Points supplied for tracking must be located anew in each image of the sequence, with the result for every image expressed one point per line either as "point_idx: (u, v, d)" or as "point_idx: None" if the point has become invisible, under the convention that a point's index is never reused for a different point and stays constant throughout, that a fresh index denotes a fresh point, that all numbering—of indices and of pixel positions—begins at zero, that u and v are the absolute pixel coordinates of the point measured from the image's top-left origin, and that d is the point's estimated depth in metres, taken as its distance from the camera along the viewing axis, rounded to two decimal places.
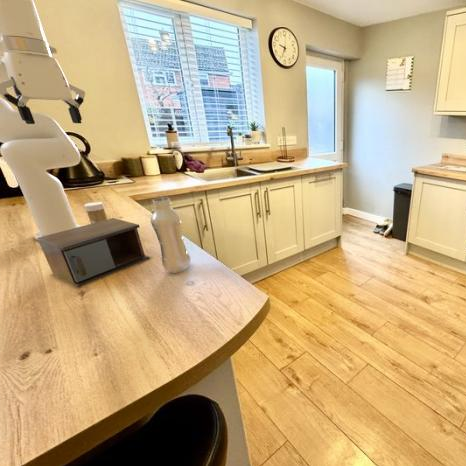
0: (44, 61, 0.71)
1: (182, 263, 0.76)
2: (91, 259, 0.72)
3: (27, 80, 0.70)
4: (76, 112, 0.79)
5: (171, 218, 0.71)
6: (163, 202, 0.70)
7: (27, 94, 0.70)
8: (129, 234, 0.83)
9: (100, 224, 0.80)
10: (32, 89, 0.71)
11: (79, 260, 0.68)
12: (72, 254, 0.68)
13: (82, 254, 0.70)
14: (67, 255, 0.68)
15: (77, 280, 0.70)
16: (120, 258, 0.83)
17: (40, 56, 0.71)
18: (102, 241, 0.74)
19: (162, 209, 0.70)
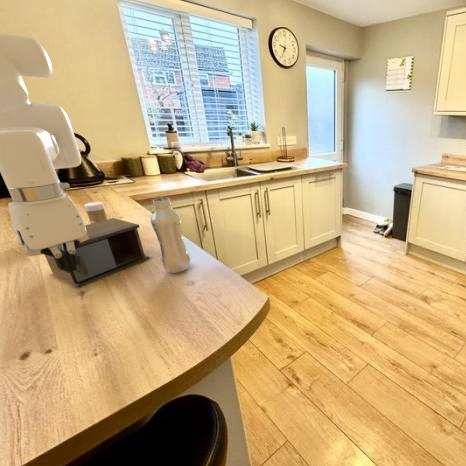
0: (56, 205, 0.61)
1: (182, 263, 0.76)
2: (92, 258, 0.72)
3: (36, 232, 0.59)
4: (71, 260, 0.65)
5: (171, 218, 0.71)
6: (163, 202, 0.70)
7: (36, 247, 0.59)
8: (129, 234, 0.83)
9: (100, 224, 0.80)
10: (42, 240, 0.60)
11: (81, 259, 0.68)
12: None
13: (84, 254, 0.71)
14: None
15: (79, 279, 0.71)
16: (120, 258, 0.83)
17: (51, 201, 0.60)
18: (103, 241, 0.74)
19: (162, 209, 0.70)
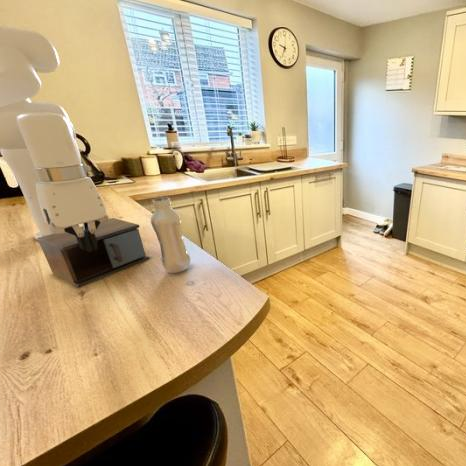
0: (79, 185, 0.64)
1: (182, 263, 0.76)
2: (126, 247, 0.79)
3: (61, 210, 0.62)
4: (92, 239, 0.69)
5: (171, 218, 0.71)
6: (163, 202, 0.70)
7: (61, 225, 0.63)
8: None
9: (100, 224, 0.80)
10: (66, 218, 0.63)
11: (117, 247, 0.74)
12: (110, 241, 0.75)
13: (118, 242, 0.77)
14: (106, 243, 0.74)
15: (114, 266, 0.77)
16: None
17: (75, 181, 0.63)
18: (135, 231, 0.80)
19: (162, 209, 0.70)
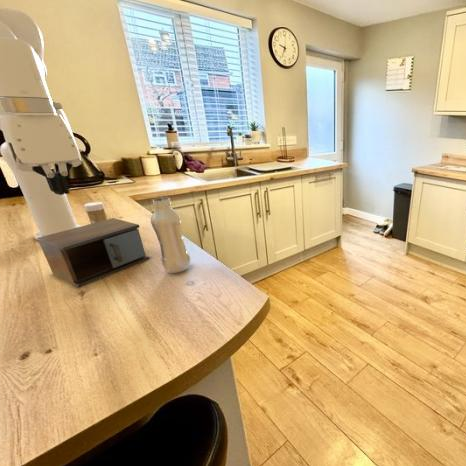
0: (48, 121, 0.61)
1: (182, 263, 0.76)
2: (126, 247, 0.79)
3: (28, 145, 0.59)
4: (63, 181, 0.66)
5: (171, 218, 0.71)
6: (163, 202, 0.70)
7: (28, 161, 0.60)
8: None
9: (100, 224, 0.80)
10: (34, 155, 0.60)
11: (117, 247, 0.74)
12: (110, 241, 0.75)
13: (118, 242, 0.77)
14: (106, 243, 0.74)
15: (114, 266, 0.77)
16: None
17: (43, 116, 0.60)
18: (135, 231, 0.80)
19: (162, 209, 0.70)
